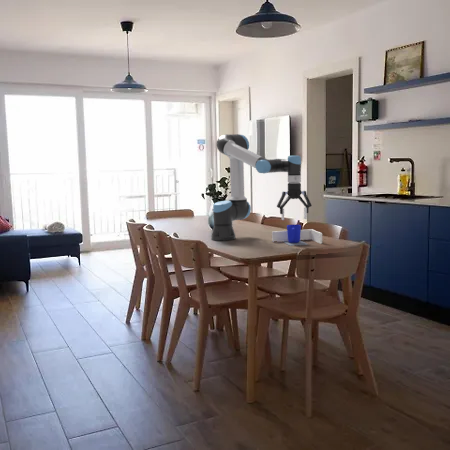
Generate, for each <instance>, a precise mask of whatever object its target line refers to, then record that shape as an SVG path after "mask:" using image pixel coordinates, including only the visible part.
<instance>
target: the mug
mask: <svg viewBox="0 0 450 450" xmlns="http://www.w3.org/2000/svg"><path fill="white" fill-rule="evenodd" d="M301 230H302V225H301V224H287V225H286V231H287V234H288V241H289V242H290V243H298V242H300V233H301Z"/></svg>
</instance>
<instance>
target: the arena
mask: <svg viewBox="0 0 450 450" xmlns="http://www.w3.org/2000/svg"><path fill="white" fill-rule="evenodd" d="M300 240H301V241H306V240H307V241H308V240H311V241H313V242H316V243H317V244H320V245H321V244H323V233H322V232H320V231H317V230H315V229H313V228H309V229H301V233H300ZM274 241H277V242H282V241H288V234H287V230H277V231H276V230H275V231H271V242H274ZM274 243H275V242H274Z"/></svg>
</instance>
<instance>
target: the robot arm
mask: <svg viewBox="0 0 450 450" xmlns="http://www.w3.org/2000/svg"><path fill="white" fill-rule="evenodd" d="M216 149H217V150H218V152H219V153H221V154H223V155H225V156H227V157H228V159H229V171H230V172H229V174H230V175H229V177H230V197H229V198H228V200H221V201H217V202H214V203H213V205H212V206H213V207H212V214H213V215H212V216H213V228H212V232H211V240H213V241H220V240H223V241H232V240H235V239H236V233H235V230H234V228H233V227H234V226H233V221H238V220H240V221H241V220H245V219H247V218H248V217H249V216H250V214H251V211H252V207H251V204H250V202H249V201H248V200H247V199H248V198H247V197H246V196H245V171H244V169H245V168H244V163H245V164H246V165H248V166H251V167H253V168H255V170H256V172H258V174H272V173H287V182H288V183H287V191H283V190H282V192H281V196H280V198H279V200H278V202H277V204H276V207H277V208H279V213H280V215H281V220H282V221H284V220H285V206H286V205H287V204H288V202H289V201H290V200H299V201H300V202H301V203H302V204H303V205H304V208H303V219H304V220H307V219H308V214H309V208H310V207H312V203H311V201H310V199H309V197H308V195H307V194H308V193H307V190H302V185H301V182H302V171H301V170H302V157H301V155H289V156H287V158H273V159H267V158H265V157H263V156H262V155H259V154H257V153H255V152H253V151H251V150H249V149H250V142H249V140H248V138H247V137H246V135H243V134H240V133H239V134H233V133H232V134H226V133H225V134H222V135H220V136H219V137H218V138H217V140H216ZM301 195H303V198H304V199H303V198H302V196H301ZM286 196H287V197H286Z"/></svg>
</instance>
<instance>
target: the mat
mask: <svg viewBox="0 0 450 450" xmlns="http://www.w3.org/2000/svg"><path fill="white" fill-rule="evenodd" d="M281 242H282V243H284V244H285V245H288V246H290V247H294V245H296V246H307V245H309V243H307V242H305V241H304V240H300V242H298V243H290V242H289V241H281Z"/></svg>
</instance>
